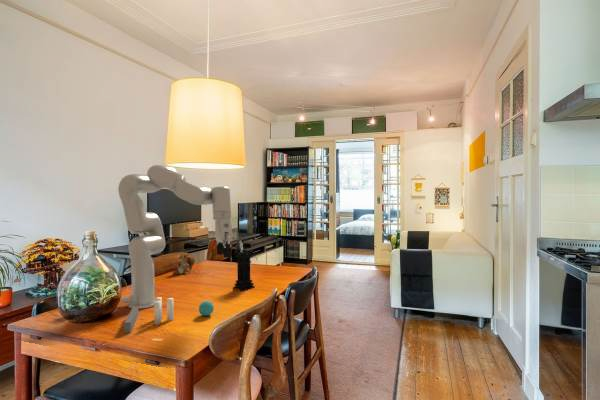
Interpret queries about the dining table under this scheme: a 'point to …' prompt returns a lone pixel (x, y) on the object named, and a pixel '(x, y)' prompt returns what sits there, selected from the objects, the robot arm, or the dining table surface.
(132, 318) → the wall
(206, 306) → the ball
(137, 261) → the robot arm
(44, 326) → the dining table surface
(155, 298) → the back pin left
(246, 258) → the chess piece
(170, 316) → the front pin
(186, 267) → the stuffed squirrel
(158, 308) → the back pin right
